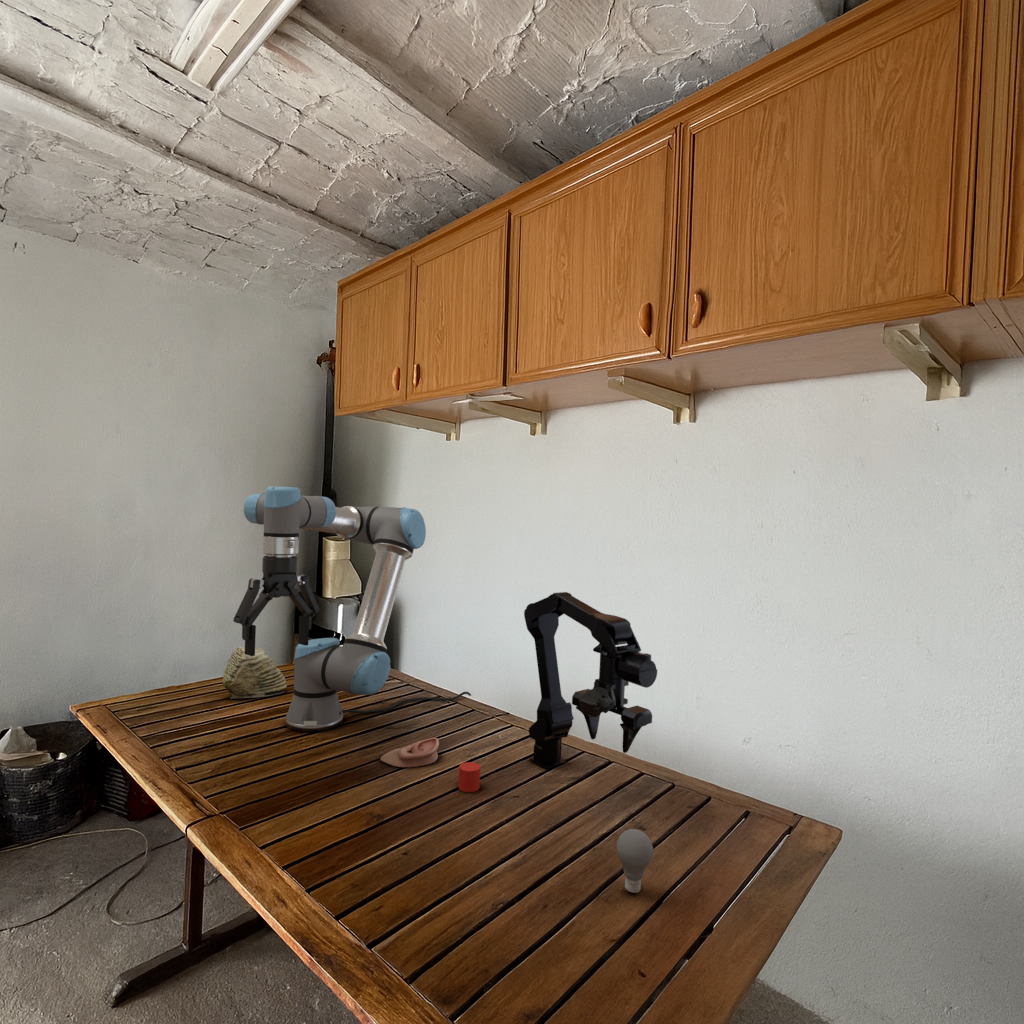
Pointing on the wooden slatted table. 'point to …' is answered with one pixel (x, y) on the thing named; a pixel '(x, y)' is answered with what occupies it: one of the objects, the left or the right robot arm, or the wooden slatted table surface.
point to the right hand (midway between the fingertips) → (608, 745)
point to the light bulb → (634, 857)
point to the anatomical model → (413, 754)
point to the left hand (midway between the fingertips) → (277, 649)
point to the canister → (469, 777)
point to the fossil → (252, 675)
